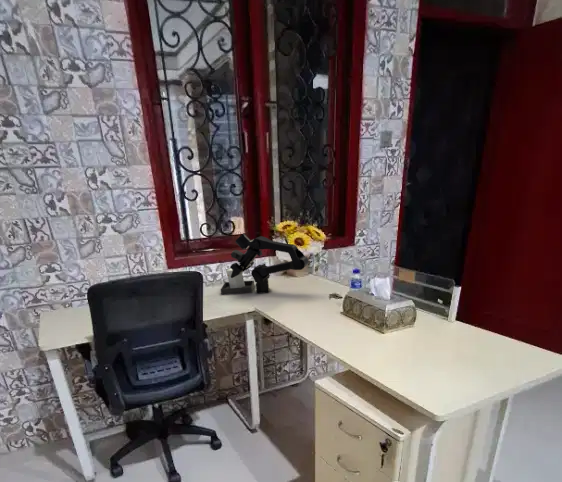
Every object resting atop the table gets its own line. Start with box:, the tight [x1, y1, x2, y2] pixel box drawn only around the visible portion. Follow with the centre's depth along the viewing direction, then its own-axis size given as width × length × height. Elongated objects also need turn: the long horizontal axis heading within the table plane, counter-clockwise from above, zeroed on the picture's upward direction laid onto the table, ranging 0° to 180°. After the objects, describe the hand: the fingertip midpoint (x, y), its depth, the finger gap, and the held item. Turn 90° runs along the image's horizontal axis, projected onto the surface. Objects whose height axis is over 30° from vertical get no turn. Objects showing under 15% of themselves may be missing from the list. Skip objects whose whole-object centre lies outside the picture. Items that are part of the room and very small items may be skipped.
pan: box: [220, 279, 256, 295], centre depth 236 cm, size 17×13×3 cm
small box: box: [225, 268, 245, 288], centre depth 235 cm, size 8×6×10 cm
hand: (234, 275), depth 234 cm, fingers closed on small box, 7 cm apart
